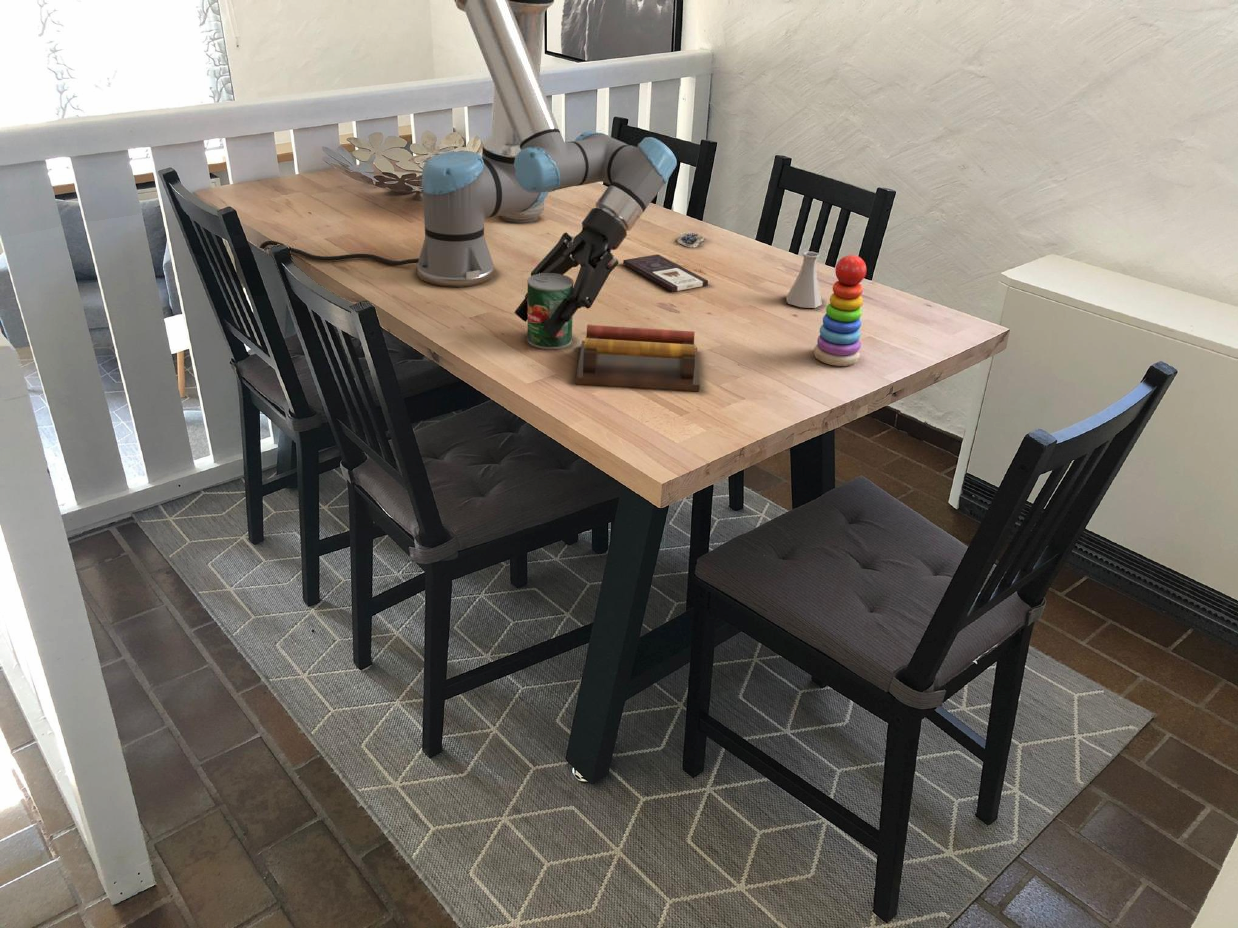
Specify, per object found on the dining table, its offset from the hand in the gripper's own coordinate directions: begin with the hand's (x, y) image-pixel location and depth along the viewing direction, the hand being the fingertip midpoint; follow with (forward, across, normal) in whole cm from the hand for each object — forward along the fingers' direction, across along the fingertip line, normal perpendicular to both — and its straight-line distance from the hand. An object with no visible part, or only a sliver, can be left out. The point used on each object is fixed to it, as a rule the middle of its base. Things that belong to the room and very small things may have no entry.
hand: (533, 325), depth 170 cm
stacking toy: (-27, -33, -32) cm, 53 cm away
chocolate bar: (-28, +15, -33) cm, 46 cm away
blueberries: (-42, +28, -48) cm, 70 cm away
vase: (-25, +63, -31) cm, 75 cm away
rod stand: (-4, -17, -9) cm, 20 cm away
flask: (-38, -12, -43) cm, 58 cm away
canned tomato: (0, 0, -5) cm, 5 cm away
